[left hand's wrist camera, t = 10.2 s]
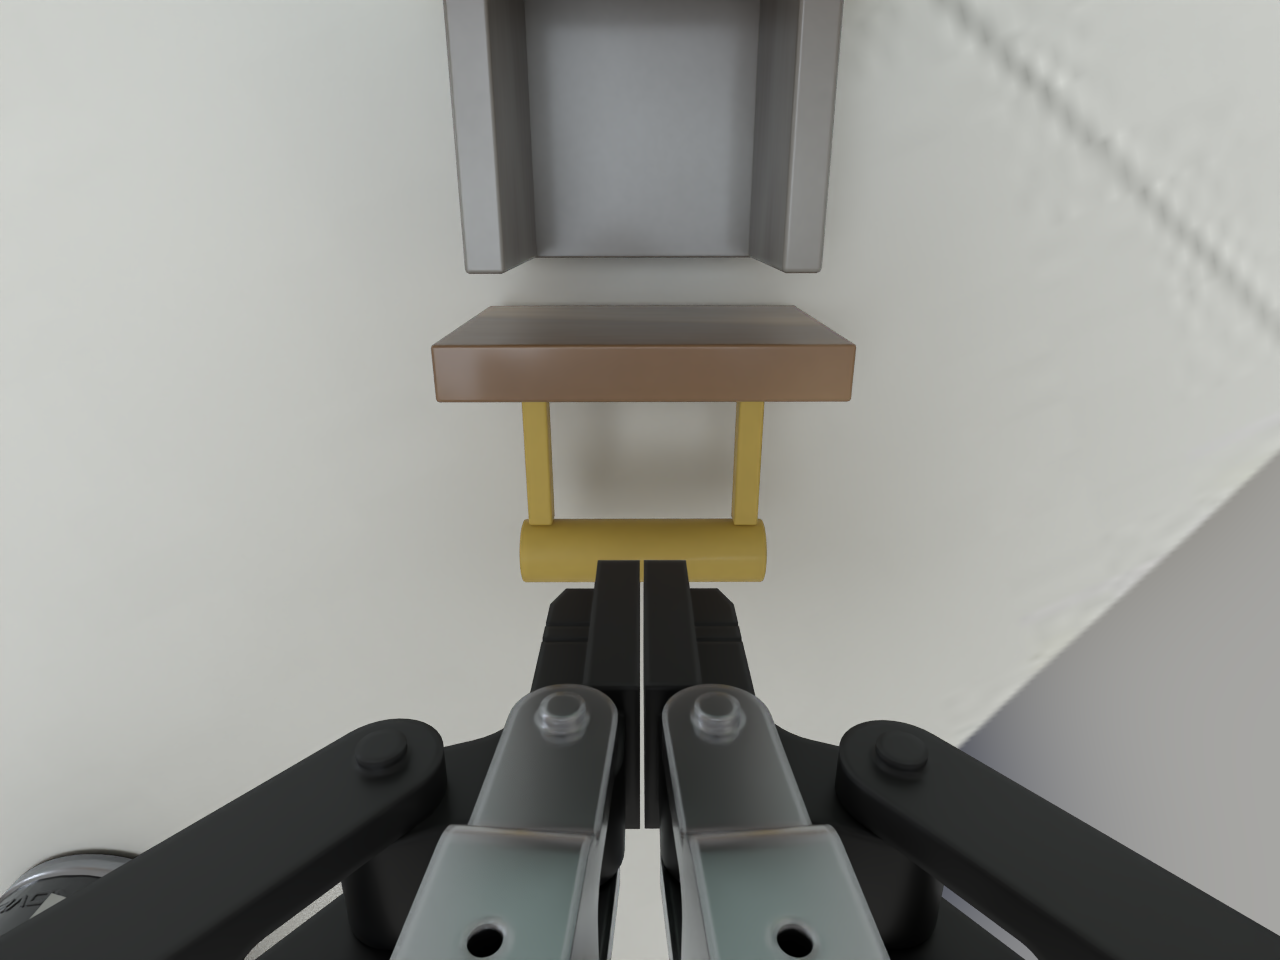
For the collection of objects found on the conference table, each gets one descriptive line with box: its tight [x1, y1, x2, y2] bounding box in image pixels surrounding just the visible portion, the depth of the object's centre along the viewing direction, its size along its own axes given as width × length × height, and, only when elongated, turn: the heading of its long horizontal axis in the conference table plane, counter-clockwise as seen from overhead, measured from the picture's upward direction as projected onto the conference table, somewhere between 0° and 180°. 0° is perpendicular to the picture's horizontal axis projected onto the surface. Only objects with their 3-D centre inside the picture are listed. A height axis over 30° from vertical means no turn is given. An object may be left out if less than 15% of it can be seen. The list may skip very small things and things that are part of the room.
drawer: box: [431, 0, 856, 582], centre depth 16 cm, size 21×9×6 cm, turn 0°
